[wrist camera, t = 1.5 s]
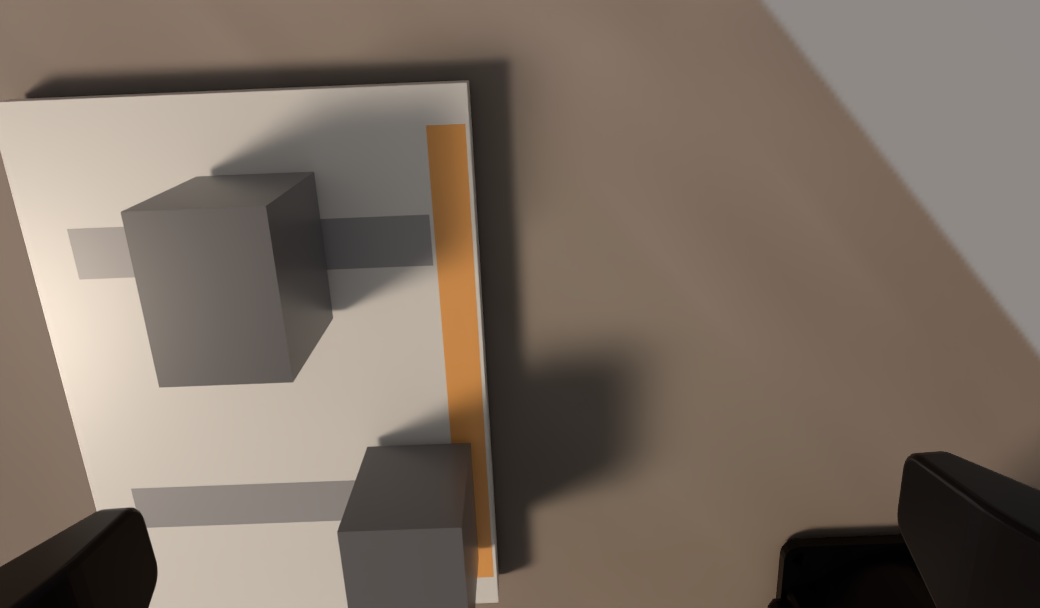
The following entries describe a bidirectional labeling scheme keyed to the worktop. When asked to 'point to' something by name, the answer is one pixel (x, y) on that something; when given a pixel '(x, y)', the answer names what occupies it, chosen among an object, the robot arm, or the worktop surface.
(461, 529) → the slider on
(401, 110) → the switch plate
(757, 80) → the worktop surface
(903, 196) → the worktop surface
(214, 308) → the slider
